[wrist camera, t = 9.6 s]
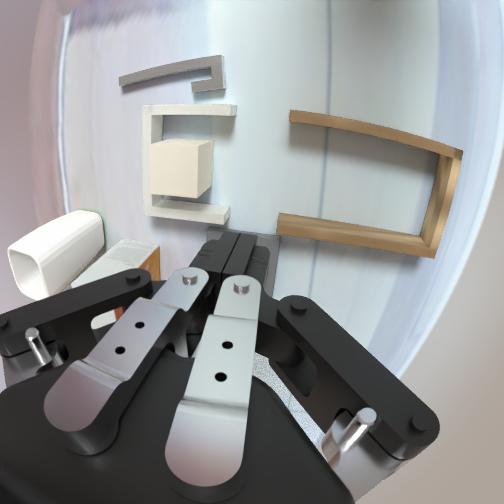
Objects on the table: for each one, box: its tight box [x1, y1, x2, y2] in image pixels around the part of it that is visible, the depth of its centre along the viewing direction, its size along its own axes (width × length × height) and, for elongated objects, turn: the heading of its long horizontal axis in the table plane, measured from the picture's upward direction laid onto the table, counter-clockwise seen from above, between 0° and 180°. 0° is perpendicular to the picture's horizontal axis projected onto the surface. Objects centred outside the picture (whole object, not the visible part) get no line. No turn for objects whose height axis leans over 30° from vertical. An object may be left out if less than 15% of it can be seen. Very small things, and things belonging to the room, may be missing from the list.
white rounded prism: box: [8, 210, 104, 301], centre depth 33 cm, size 7×7×15 cm
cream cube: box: [149, 139, 214, 198], centre depth 31 cm, size 6×6×6 cm
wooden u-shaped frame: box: [276, 110, 463, 259], centre depth 29 cm, size 13×20×4 cm
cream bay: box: [142, 104, 237, 225], centre depth 32 cm, size 13×10×3 cm
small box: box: [71, 238, 160, 329], centre depth 35 cm, size 8×6×13 cm
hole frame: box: [207, 227, 281, 297], centre depth 38 cm, size 9×9×1 cm
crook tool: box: [119, 55, 226, 93], centre depth 28 cm, size 4×13×1 cm, turn 93°
